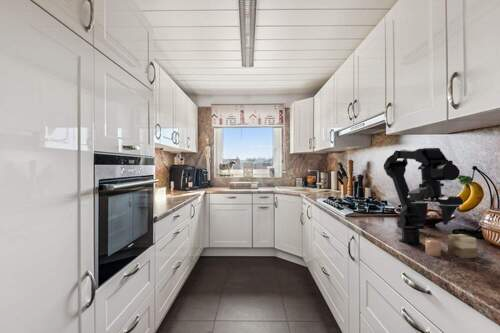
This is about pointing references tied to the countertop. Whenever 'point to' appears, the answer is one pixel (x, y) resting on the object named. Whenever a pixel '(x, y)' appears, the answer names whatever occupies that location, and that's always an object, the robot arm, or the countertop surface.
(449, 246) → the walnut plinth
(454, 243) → the maple block
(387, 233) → the countertop surface
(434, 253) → the tan rounded piece
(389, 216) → the countertop surface
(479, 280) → the countertop surface
